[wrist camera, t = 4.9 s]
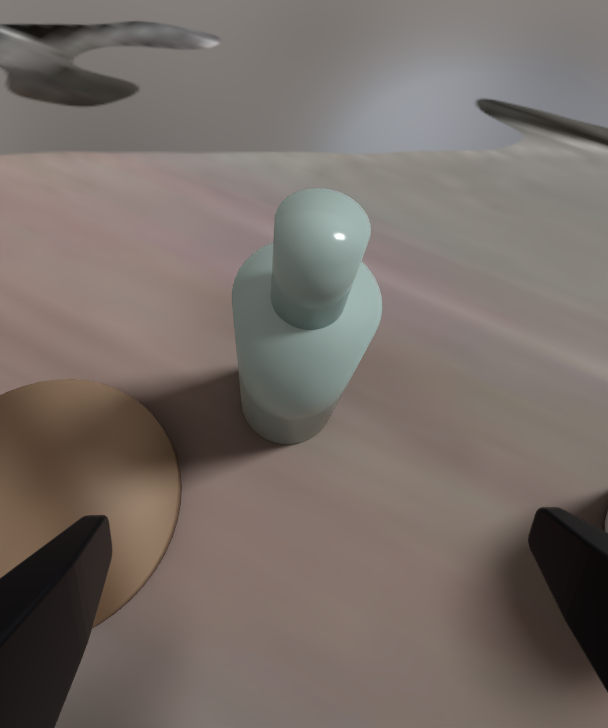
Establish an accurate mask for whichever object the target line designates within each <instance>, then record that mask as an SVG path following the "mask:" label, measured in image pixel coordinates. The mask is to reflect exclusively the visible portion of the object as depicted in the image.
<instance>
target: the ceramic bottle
mask: <svg viewBox="0 0 608 728" xmlns="http://www.w3.org/2000/svg"><path fill="white" fill-rule="evenodd" d="M370 233H371V227H370V222H369V219H368V217H367V215H366V213H365V211H364V210H363V209H362V207H361V206H360V205H359V204H358V203H357V202H355V201H354V200H353V199H351V198H350V197H348V196H346V195H345V194H342V193H340V192H337V191H334V190H330V189H323V188H311V189H305V190H301V191H298V192H296V193H293V194H292V195H290V196H288V197H287V198H286V199H285V200H284V201H283V202H282V203H281V204H280V206H279V207H278V209H277V212H276V215H275V225H274V242H273V243H271V244H268V245H266V246H264V247H262V248H261V249H259V250H257V251H256V252H255V253H254V254H252V255H251V256H250V257H249V258H248V259H247V260H246V261H245V262H244V264H243V265H242V266H241V268H240V269H239V271H238V273H237V275H236V278H235V281H234V284H233V289H232V307H233V318H234V328H235V339H236V350H237V361H238V371H239V382H240V393H241V404H242V410H243V413H244V416H245V418H246V421H247V422H248V424H249V425H250V426H251V428H252V429H253V430H254V431H255V432H256V433H257V434H258V435H260V436H261V437H263V438H265V439H267V440H269V441H271V442H274V443H279V444H297V443H301V442H304V441H306V440H309V439H311V438H312V437H314V436H315V435H316V434H318V433H319V432H320V431H321V430H322V429H323V427H324V426H325V424H326V423H327V421H328V419H329V417H330V416H331V414H332V412H333V410H334V408H335V406H336V404H337V403H338V401H339V399H340V397H341V395H342V393H343V391H344V390H345V388H346V386H347V384H348V382H349V380H350V378H351V377H352V375H353V373H354V371H355V369H356V367H357V365H358V364H359V362H360V360H361V358H362V356H363V354H364V352H365V351H366V349H367V347H368V345H369V343H370V341H371V339H372V338H373V336H374V334H375V332H376V330H377V328H378V326H379V322H380V319H381V314H382V299H381V293H380V290H379V287H378V284H377V282H376V280H375V278H374V276H373V275H372V273H371V271H370V270H369V269H368V268H367V266H366V265H365V264H364V263H363V262H362V261H361V260H362V257H363V255H364V252H365V249H366V246H367V244H368V241H369V238H370Z"/></svg>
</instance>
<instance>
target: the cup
mask: <svg viewBox="0 0 608 728" xmlns="http://www.w3.org/2000/svg"><path fill="white" fill-rule="evenodd" d="M605 532H607V533H608V510H607V515H606V519H605Z"/></svg>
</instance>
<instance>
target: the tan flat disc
mask: <svg viewBox="0 0 608 728" xmlns="http://www.w3.org/2000/svg"><path fill="white" fill-rule="evenodd" d="M181 488H182V486H181V474H180V468H179V464H178V459H177V456H176V453H175V450H174V448H173V445H172V443H171V441H170V439H169V437H168V436H167V434H166V432H165V431H164V429H163V428H162V426H161V425H160V424H159V422H158V421H157V420H156V419H155V417H154V416H153V415H152V413H150V412H149V411H148V410H147V409H146V408H145V407H144V406H143V405H142V404H141V403H140V402H138V401H137V400H135V399H134V398H133V397H131V396H130V395H128V394H126V393H124V392H122V391H120V390H118V389H116V388H113V387H110V386H107V385H105V384H101V383H96V382H92V381H86V380H75V379H66V380H51V381H44V382H38V383H34V384H30V385H26V386H23V387H20V388H17V389H14V390H12V391H9V392H6V393H4V394H2V395H0V578H1V577H2V576H4V575H5V574H6V573H8V572H9V571H10V570H12V569H13V568H14V567H16V566H17V565H18V564H20V563H21V562H22V561H24V560H25V559H26V558H28V557H29V556H30V555H32V554H33V553H34V552H36V551H37V550H38V549H40V548H41V547H43V546H44V545H45V544H47V543H48V542H49V541H51V540H52V539H53V538H55V537H56V536H57V535H59V534H60V533H61V532H63V531H64V530H65V529H67V528H68V527H69V526H71V525H72V524H73V523H75V522H76V521H77V520H79V519H80V518H82V517H83V516H86V515H105V516H107V517H108V520H109V525H110V532H111V540H112V548H113V550H112V559H111V563H110V566H109V570H108V574H107V577H106V581H105V584H104V588H103V591H102V595H101V598H100V602H99V605H98V609H97V613H96V616H95V620H94V623H93V627H92V628H94V627H95V626H97V625H99V624H100V623H102V622H103V621H105V620H106V619H108V618H109V617H111V616H112V615H114V614H115V613H116V612H117V611H118V610H120V609H121V608H122V607H123V606H124V605H125V604H127V603H128V602H129V601H130V600H131V599H132V598H133V597H134V596H135V595H136V594H137V593H138V591H139V590H140V589H141V588H142V587H143V586H144V585H145V584H146V582H147V581H148V580H149V578H150V577H151V575H152V574H153V573H154V571H155V570H156V569H157V567H158V565H159V563H160V562H161V560H162V558H163V556H164V555H165V553H166V551H167V548H168V546H169V544H170V541H171V539H172V537H173V534H174V531H175V527H176V524H177V521H178V516H179V510H180V505H181Z"/></svg>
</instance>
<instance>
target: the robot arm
mask: <svg viewBox="0 0 608 728" xmlns="http://www.w3.org/2000/svg"><path fill="white" fill-rule="evenodd" d="M528 542H529V547H530V550H531V552H532V554H533V556H534V558H535V560H536V562H537V564H538V566H539V568H540V570H541V573H542V575H543V577H544V579H545V581H546V583H547V585H548V587H549V589H550V591H551V593H552V595H553V597H554V599H555V601H556V603H557V606H558V608H559V610H560V611H561V613H562V615H563V617H564V619H565V621H566V623H567V625H568V626H569V628H570V630H571V632H572V633H573V635H574V637H575V638H576V640H577V642H578V643H579V645H580V647H581V648H582V650H583V652H584V653H585V655H586V657H587V658H588V660H589V662H590V663H591V665H592V667H593V669H594V670H595V672H596V674H597V675H598V677H599V679H600V680H601V682H602V684H603V685H604V687H605V689H606V690H607V692H608V533H607V532H605V531H603V530H601V529H599V528H597V527H595V526H593V525H592V524H590V523H588V522H586V521H584V520H582V519H580V518H578V517H576V516H574V515H572V514H571V513H569V512H567V511H565V510H563V509H561V508H558V507H542V508H539V509H538V510H537V511H536V514H535V517H534V520H533V523H532V527H531V530H530V533H529V537H528ZM112 550H113V548H112V540H111V532H110V525H109V520H108V517H107V516H105V515H86V516H83V517H82V518H80V519H79V520H77V521H76V522H75V523H73V524H72V525H71V526H69V527H68V528H67V529H65V530H64V531H63V532H61V533H60V534H59V535H57V536H56V537H55V538H53V539H52V540H51V541H49V542H48V543H47V544H45V545H44V546H43V547H41V548H40V549H38V550H37V551H36V552H34V553H33V554H32V555H30V556H29V557H28V558H26V559H25V560H24V561H22V562H21V563H20V564H18V565H17V566H16V567H14V568H13V569H12V570H10V571H9V572H8V573H6V574H5V575H4V576H2V577H1V578H0V728H54V727H55V725H56V722H57V720H58V717H59V715H60V712H61V710H62V707H63V705H64V702H65V700H66V697H67V695H68V692H69V690H70V687H71V684H72V682H73V679H74V677H75V674H76V672H77V669H78V667H79V664H80V662H81V659H82V657H83V654H84V651H85V648H86V646H87V643H88V640H89V637H90V633H91V630H92V627H93V623H94V620H95V616H96V613H97V609H98V605H99V602H100V598H101V595H102V591H103V588H104V584H105V581H106V577H107V574H108V570H109V566H110V563H111V559H112Z"/></svg>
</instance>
